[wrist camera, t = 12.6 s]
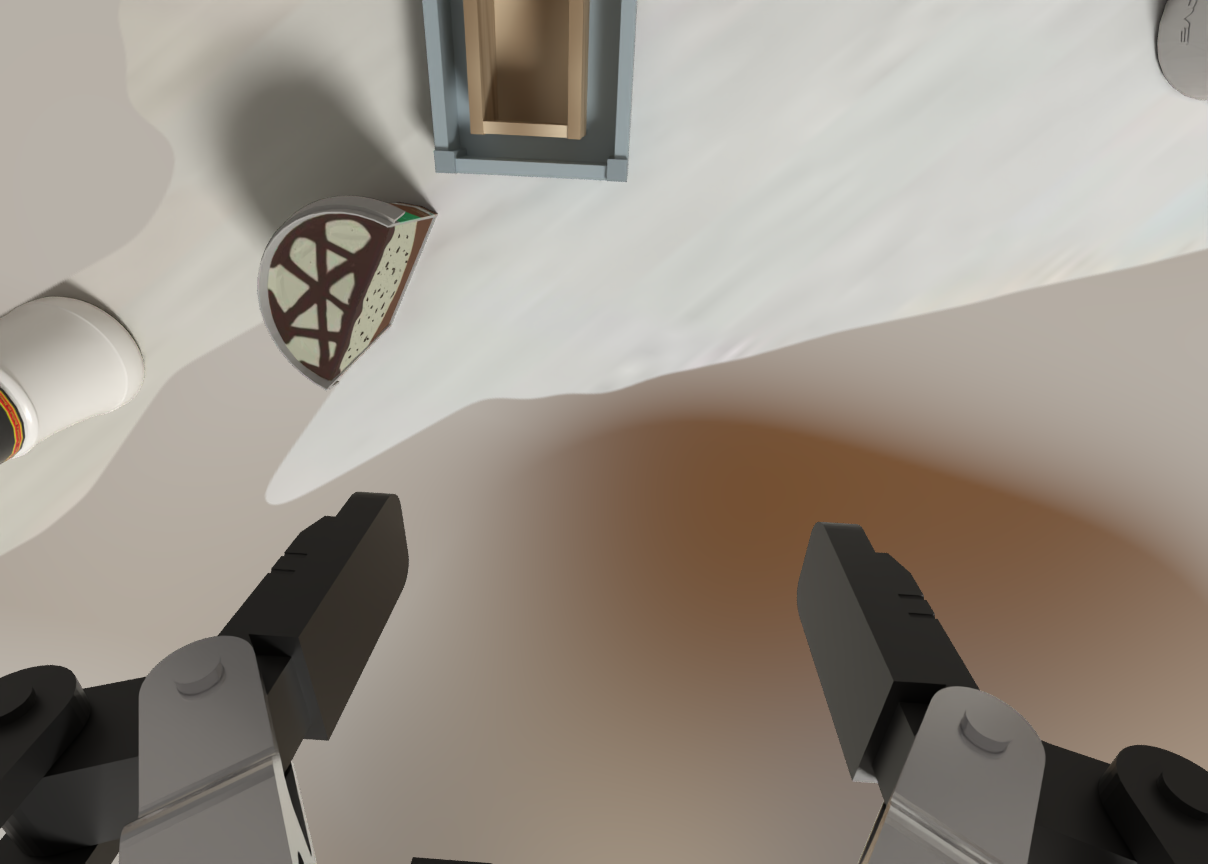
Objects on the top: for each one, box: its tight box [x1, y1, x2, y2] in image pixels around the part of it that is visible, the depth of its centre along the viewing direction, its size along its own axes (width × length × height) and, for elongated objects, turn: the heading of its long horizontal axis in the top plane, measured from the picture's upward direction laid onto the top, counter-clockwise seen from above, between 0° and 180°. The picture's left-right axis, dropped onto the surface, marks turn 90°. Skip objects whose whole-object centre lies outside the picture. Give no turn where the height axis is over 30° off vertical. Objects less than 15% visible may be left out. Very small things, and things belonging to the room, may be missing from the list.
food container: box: [257, 196, 438, 390], centre depth 38 cm, size 12×6×10 cm, turn 150°
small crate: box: [463, 0, 590, 140], centre depth 32 cm, size 6×10×5 cm, turn 177°
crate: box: [422, 0, 637, 182], centre depth 34 cm, size 12×15×4 cm
